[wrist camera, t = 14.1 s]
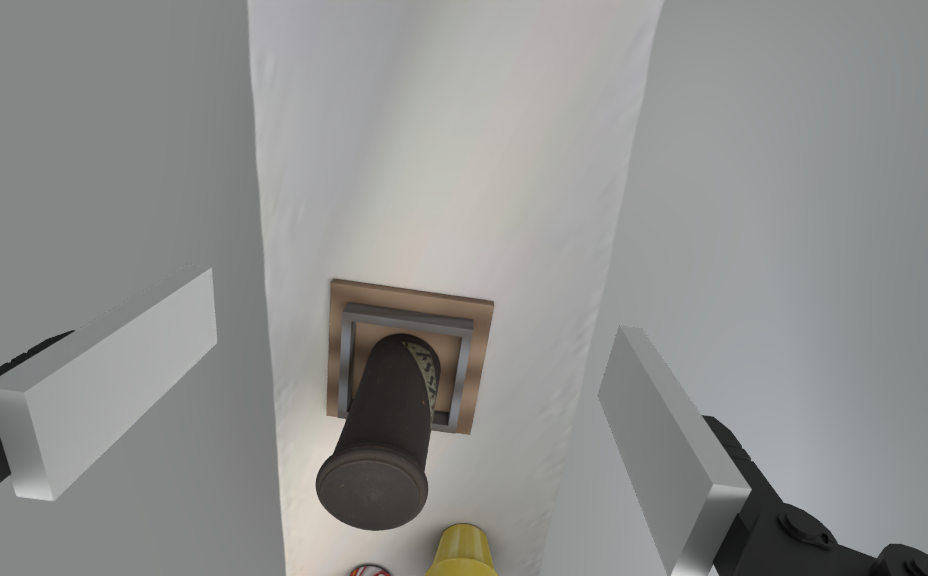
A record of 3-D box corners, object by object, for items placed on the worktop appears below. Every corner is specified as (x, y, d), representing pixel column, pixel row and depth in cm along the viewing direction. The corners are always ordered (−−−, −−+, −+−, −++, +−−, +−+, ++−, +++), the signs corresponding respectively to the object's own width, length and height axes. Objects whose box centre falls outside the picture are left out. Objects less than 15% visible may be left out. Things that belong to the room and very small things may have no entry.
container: (431, 402, 57) (410, 552, 39) (359, 383, 56) (302, 526, 38) (452, 343, 54) (439, 475, 35) (375, 321, 53) (321, 445, 34)
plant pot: (440, 570, 70) (434, 640, 61) (418, 521, 67) (408, 589, 58) (507, 557, 69) (511, 628, 60) (488, 507, 65) (490, 574, 56)
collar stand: (334, 278, 52) (324, 292, 49) (493, 301, 53) (494, 316, 49) (329, 409, 59) (320, 428, 56) (470, 428, 60) (469, 448, 56)
